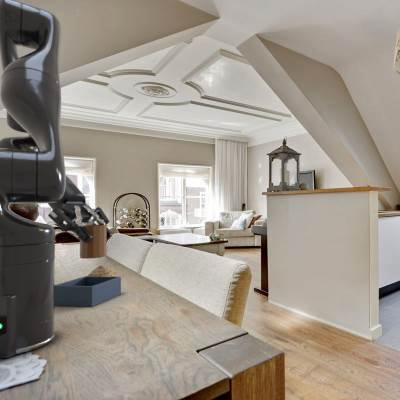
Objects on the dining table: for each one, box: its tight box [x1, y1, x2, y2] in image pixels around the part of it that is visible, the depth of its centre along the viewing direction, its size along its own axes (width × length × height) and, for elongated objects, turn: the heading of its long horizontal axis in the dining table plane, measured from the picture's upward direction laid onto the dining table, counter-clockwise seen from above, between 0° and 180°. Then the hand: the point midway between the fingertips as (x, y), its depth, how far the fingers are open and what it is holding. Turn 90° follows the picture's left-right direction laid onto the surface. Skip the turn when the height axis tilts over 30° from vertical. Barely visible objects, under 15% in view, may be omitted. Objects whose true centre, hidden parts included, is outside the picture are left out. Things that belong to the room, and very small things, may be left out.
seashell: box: [87, 265, 118, 277], centre depth 100 cm, size 8×6×8 cm
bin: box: [54, 275, 122, 307], centre depth 78 cm, size 10×10×5 cm
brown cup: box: [79, 224, 108, 260], centre depth 79 cm, size 6×6×8 cm
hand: (99, 239), depth 79 cm, fingers closed on brown cup, 5 cm apart
